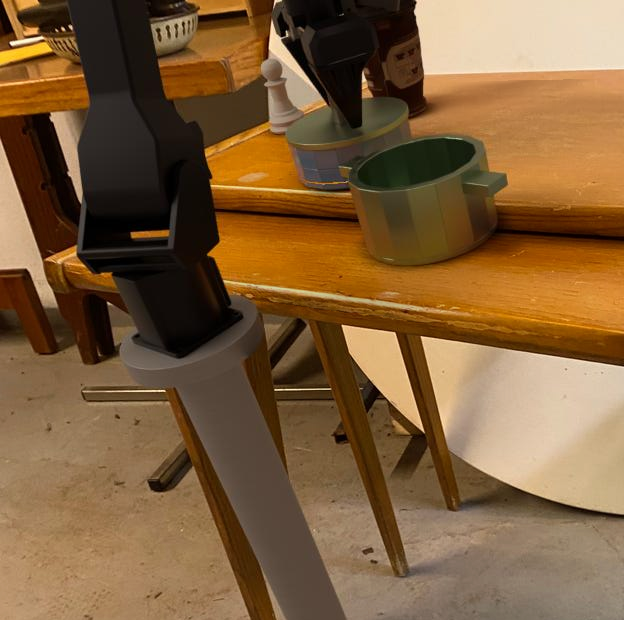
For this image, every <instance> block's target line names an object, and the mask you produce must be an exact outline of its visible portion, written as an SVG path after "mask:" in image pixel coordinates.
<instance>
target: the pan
mask: <svg viewBox="0 0 624 620" xmlns="http://www.w3.org/2000/svg"><path fill="white" fill-rule="evenodd" d="M410 139H414V138H413V133H412V128H411V124H410V121H409V117H407V118H406V120H405V121H404V122H403V123H401V124H400V125H399V126H397V127H396V128H394V129H392V130H391V131H389V132H387V133H385V134H383V135H380V136H378V137H375V138H373V139H370V140H367V141H364V142H361V143H358V144H354V145H350V146H345V147H340V148H335V149H327V150H301V149H296V148H293V147H291V146H290V145H289V144H288V143H287V144H288V148H289V150H290V154H291V157H292V160H293V163H294V166H295V170H296V172H297V176H298V179H299V182H301V183H303V184H304V185H305V186H307V187H308V188H313V189H314V188H315V189H321V190H326V191H340V190H350V187H349V184H348V182H347V183H338V184H325V185H322V184H315V183H308V182H306V181H309V182H318V183H333V182H346V181H348V178H346V177H342V176H341V173H340V170H339V166H340V165H342V164H344V163H345V162H347V161H349V160H351V159H352V158H354V157H356V156H362V157H366V156H368V155H369V154H371V153H373V152H375V151H377V150H379V149H382V148H384V147H387V146H390V145H392V144H395V143H398V142H401V141H405V140H410ZM301 178H302V179H301ZM303 179H304V180H305V181H304V180H303Z"/></svg>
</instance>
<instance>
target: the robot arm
mask: <svg viewBox="0 0 624 620" xmlns="http://www.w3.org/2000/svg"><path fill="white" fill-rule="evenodd" d="M399 2H400V0H280V1H277V2H275V4H274V6H273V8H272V9H271V12H270V18H271V20H272V24H273V28H274V31H275V34H276V35H277V36H278V37H279V38H281V39H280V42H281V44H282V45H283V46H284V47H285V48H286V50H287V51H288V52H289V54H290V55H291V57H292V58H293V59H294V61H295V63H297V65H298V66H299V68H300V69H301V70H302V72H303V74H304V75H305V76H306V77H307V79H308V80H309V81H310V83H311V84H312V86H313V87H314V88H315V90H316V91H317V93H318V94H319V95H320V97H321V98H322V100H323V101H324V103H325V104H326V105H327V107H328V106H329V107H330V104H329V100H328V96H327V93H328V95H329V96H330V98H331V99H332V101H333V102H334V104H335V105H336V107H337V108H338V110H339V111H340V113H341V114H342V116H343V117H344V118H345V120H346V121H347V123H348V124H349V126H350V127H351V128H352V129H356V128H359V127H361V126H362V98H363V69H364V68H365V66H366V64H367V63H368V61H369V60H370V59H371V58H373V57H374V55H375V53H376V49H378V48H379V43H378V38H377V34H376V30H375V26H374V25H373V24H371V23H370V22H368V21H367V20H365V19H364V18H362V17H361V16H359V15H357V14H356V13H354V12H356V11H357V10H356V6H355V4H357V5H365V6H373V7H382V8H385V9H386V10H388V11H399ZM66 5H67V8H68V13H69V16H70V22H71V26H72V31H73V34H74V38H75V43H76V47H77V52H78V56H79V61H80V65H81V69H82V74H83V79H84V82H85V86H86V91H87V96H88V102H89V103H88V108H87V111H86V115H85V118H84V122H83V125H82V128H81V131H80V134H79V138H78V141H77V147H76V150H77V159H78V167H79V175H80V184H81V192H82V194H81V204H80V214H79V223H78V231H77V242H76V251H75V254H76V257H77V259H78V260H79V262H81V263H82V264H83V266H84V267H85V268H86V269H87V270H88V271H89V272H90V273H91V274H92V275H93V276H94V275H96V276H97V275H102V274H110V276H111V278H112V280H113V283H114V285H115V287H116V289H117V290H118V294H119V295H120V297H121V299H122V301H123V303H124V306H125V307H126V309H127V312H128V313H129V315H130V318H131V319H132V322H133V324H134V326H135V327H136V328H137V330H138V333H136V334H135V335H133V336H132V337H131V339H132V341H133V343H134V344H137V345H139V346H142V347H145V348H148V349H151V350H153V351H156V352H159V353H162V354H165V355H167V356H170V357H173V358H176V359H181V358H184V357H186V356H187V355H189V354H190V353H192V352H193V351H195V350H196V349H198V348H199V347H201V346H202V345H204V344H205V343H207V342H208V341H210V340H212V339H213V338H215V337H216V336H218V335H219V334H221V333H222V332H224V331H225V330H227V329H228V328H230V327H231V326H233V325H234V324H236V323H237V322H239V321H240V320H242V319H243V318H244V316H243V313H242V311H239V310H236V309H232V308H229V306H231V303H232V301H231V299H230V296H229V291H228V289H227V287H226V284H225V281H224V279H223V276H222V274H221V271H220V269H219V266H218V264H217V261H216V259H215V257H213V256H212V255H211V256H210V255H209V254H210V252H212V250H214V248H216V247H217V245H219V243H220V242H221V237H220V233H219V227H218V221H217V220H218V219H217V215H216V208H215V203H214V197H213V191H212V184H211V180H213V178H214V177H213V173H212V172H211V169H210V167H209V164H208V160H207V157H206V150H205V140H204V133H203V131H202V128H201V127H200V124H199V123H198V121H196V120H194V119H193V120H185V119H184V118H183V117H182V116H181V115H180V113H179V112H178V110H177V109H176V108H175V107H174V105H172V104H171V102H170V100H168V98H167V95H166V93H165V89H164V84H163V83H164V82H163V79H162V74H161V69H160V64H159V59H158V55H157V49H156V45H155V39H154V35H153V30H152V25H151V19H150V14H149V10H148V5H147V0H66ZM326 92H327V93H326ZM330 108H331V107H330ZM161 231H163V232H165V231H168V235H163V236H146V237H142V236H141V237H132V233H146V232H161Z"/></svg>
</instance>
